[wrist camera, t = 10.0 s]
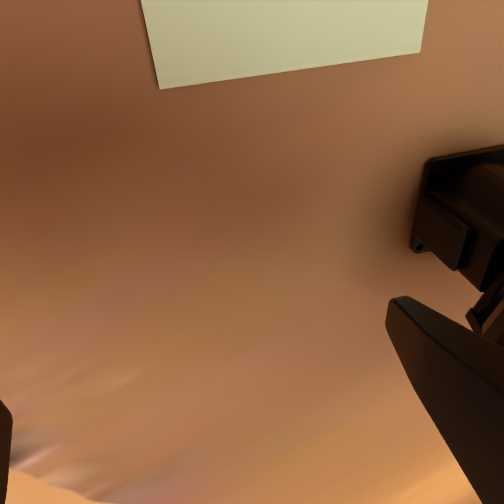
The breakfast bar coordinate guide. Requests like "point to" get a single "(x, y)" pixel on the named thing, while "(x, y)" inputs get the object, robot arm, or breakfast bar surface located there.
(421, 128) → the breakfast bar surface
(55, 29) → the breakfast bar surface
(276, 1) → the mat
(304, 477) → the breakfast bar surface
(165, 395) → the breakfast bar surface
